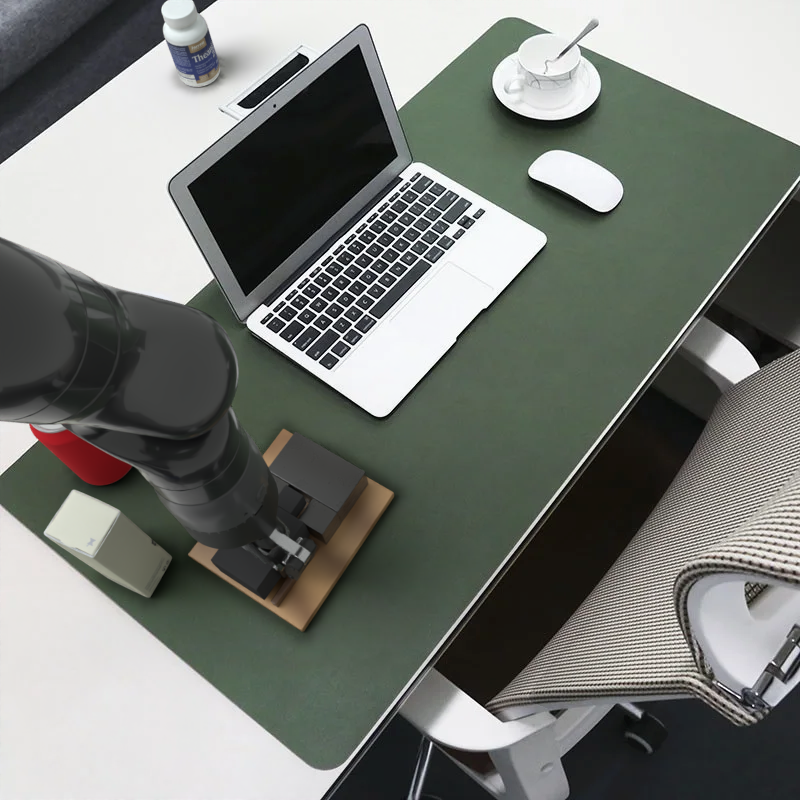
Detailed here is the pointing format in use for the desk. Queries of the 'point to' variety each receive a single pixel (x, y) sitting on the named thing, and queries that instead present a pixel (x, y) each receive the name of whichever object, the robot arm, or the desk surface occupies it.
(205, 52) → the pill bottle
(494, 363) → the desk surface
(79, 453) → the beverage can
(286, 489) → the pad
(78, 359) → the robot arm
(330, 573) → the dock
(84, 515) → the box
